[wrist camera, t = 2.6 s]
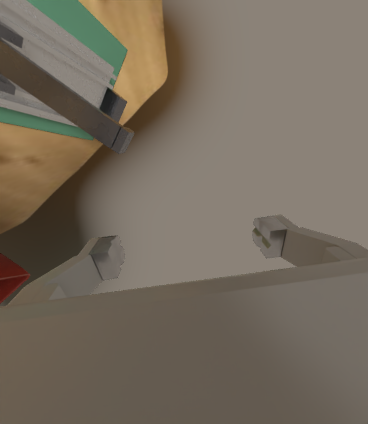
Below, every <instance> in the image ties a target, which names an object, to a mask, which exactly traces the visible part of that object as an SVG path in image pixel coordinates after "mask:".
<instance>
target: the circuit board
mask: <svg viewBox="0 0 368 424" xmlns="http://www.w3.org/2000/svg"><path fill="white" fill-rule="evenodd" d="M27 1H28V2H30V3H31V4H32V5H34V6H35V7H36V8H38V9H39V10H40V11H41V12H43V13H44V14H45V15H47V16H48V17H49V18H51V19H52V20H53V21H54V22H56V23H57V24H58V25H60V26H61V27H62V28H63V29H65V30H66V31H67V32H69V33H70V34H71V35H73V36H74V37H75V38H76V39H78V40H79V41H80V42H82V43H83V44H84V45H86V46H87V47H88V48H89V49H91V50H92V51H93V52H95V53H96V54H97V55H98V56H100V57H101V58H102V59H104V60H105V61H106V62H107V63H109V64H110V65H111V66H112V67H114V71H113V74H114V75H115V76H116V77H117V76H118V74H119V71H120V68H121V66H122V63H123V61H124V58H125V56H126V53H127V49H126V48H125V47H124V46H123V45H122V44H121V43H120V42H119V41H118V40H117V39H116V38H115V37H114V36H113V35H112V34H111V33H110V32H109V31H108V30H107V29H106V28H105V27H104V26H103V25H102V24H101V23H100V22H99V21H98V20H97V19H96V18H95V17H94V16H93V15H92V14H91V13H90V12H89V11H88V10H87V9H86V8H85V7H84V6H83V5H82V4H81V3H80V2H79V1H78V0H27ZM109 83H110V84H111V85H112V86H114V84H115V80H114V79H113V78H111V79H110V82H109ZM0 122H4V123H9V124H14V125H19V126H24V127H29V128H34V129H39V130H44V131H49V132H53V133H58V134H63V135H68V136H73V137H78V138H83V139H88V140H93V138H94V137H93V136H91V135H90V134H88V133H87V132H85V131H84V130H82V129H81V128H79V127H76V126H72V125H69V124H65V123H61V122H57V121H53V120H50V119H46V118H42V117H38V116H34V115H31V114H27V113H23V112H19V111H15V110H12V109H8V108H4V107H0Z"/></svg>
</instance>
